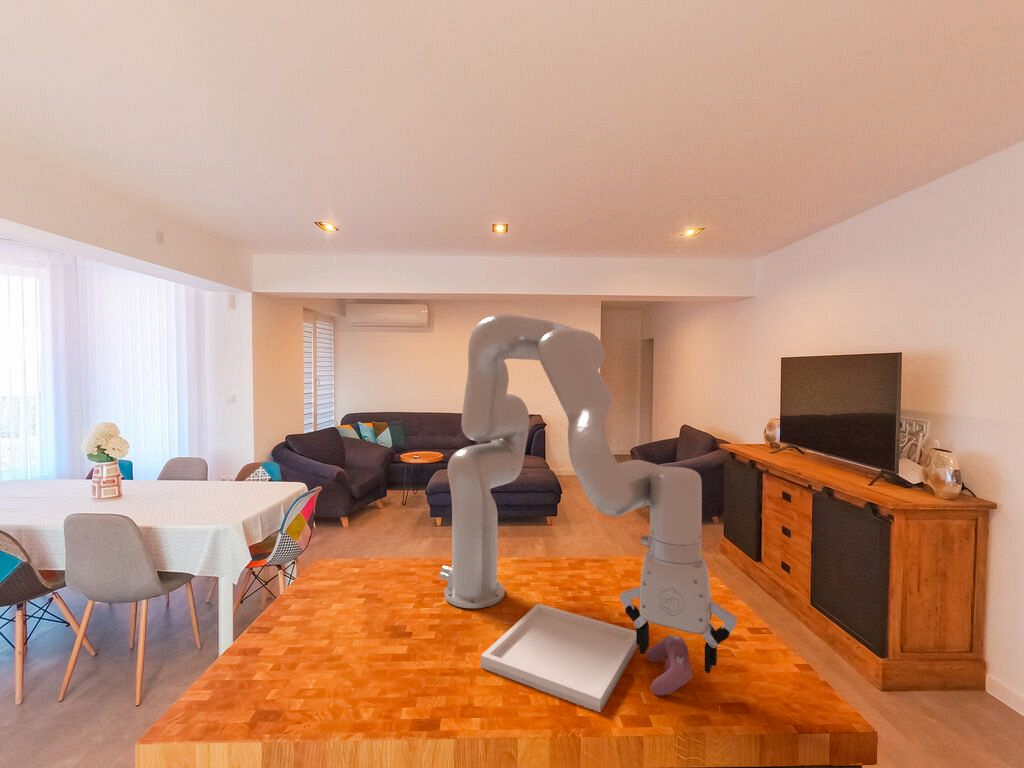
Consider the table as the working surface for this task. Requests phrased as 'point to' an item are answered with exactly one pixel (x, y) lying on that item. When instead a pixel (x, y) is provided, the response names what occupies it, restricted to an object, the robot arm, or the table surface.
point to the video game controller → (670, 664)
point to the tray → (563, 655)
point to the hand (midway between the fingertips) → (675, 658)
